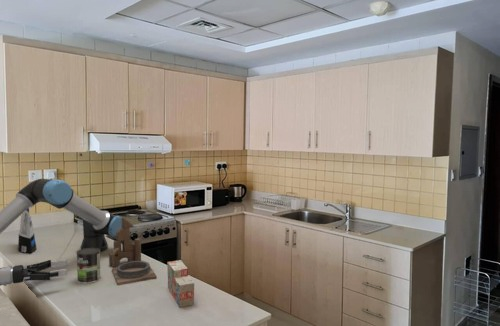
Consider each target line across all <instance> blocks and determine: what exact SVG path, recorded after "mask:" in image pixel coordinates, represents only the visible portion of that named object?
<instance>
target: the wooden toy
mask: <svg viewBox="0 0 500 326" xmlns="http://www.w3.org/2000/svg"><path fill="white" fill-rule="evenodd" d="M121 218H122V228H119V229H118V230H117V231H116V236H115V239H116V240H113V250H112V252H110V253H108V264H109V265H108V266H110V267H111V268H112V269H113V268H117V267H118V266H119V265H120V264H121V260H123V259H127V262H131V261H142V240H141V239H142V238H139V237H137V238H134V243H133V242H131V236H130V235H131V231H130V229H131V228H134V227H135V225H133V223H131V222H129V221H128V220H127V219H126V218H125V217H124V216H123V217H122V216H121Z"/></svg>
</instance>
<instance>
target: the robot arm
mask: <svg viewBox="0 0 500 326" xmlns="http://www.w3.org/2000/svg"><path fill="white" fill-rule="evenodd" d="M74 192H75V191H74V190H73V189H72V186H71V185H70V184H69V183H68V182H66V181H64V180H62V179H61V180H60V179H49V178H37V179H35V180H33V181H30V182H29V183H27V184H26V185H25V186H24V187H22V188H21V189H20V190H19V191H18V192H17V193H16V194H15V197H14V198H13V199H12V200H11V201H10V202H9V203H8V204H6V205H5V207H4V208H2V209H1V210H0V235H1V234H2V233H3V232H4V231H5V230H6V229H7V228H8V227H9V226H10V225H11V224H13V223H14V222H15V220H17V219H18V218H19V217H21V216H22V213H23V212H24V211H25V210H26V209H27V208H29V209H30V208H33V207H34V206H35V205H36V204H38V203H45V204H49V205H51V206H53V207H54V208H56V209H59V210H61V209H65V210H66V211H68V212H69V213H71V214H74V215H75V216H77V217H78V218H81V219H82V231H83V232H82V233H83V239H82V242H81V245H80V250H81V249H85V248H99V249H100V253H101V252H104V251H106V250H107V249H109V244H108V241H107V238H106V236H109V237H116V231H117V230H118V229H119V228H122V216H119V215H115V214H112V213H111V212H109V210H101V209H99V208H98V207H96V206H94V205H93V204H91V203H90V202H88V201H87V200H85V199H83V198H81V197H80V196H78V195H76V194H75V193H74ZM66 266H67V259H61V260H55V261H52V259H47V260H45V261H42V262H38V263H33V264H30V265H26V267H25V268H24V265H23V264H20V265H14V266H5V267H4V266H3V267H0V286H4V287H6V286H8V285H12V283H13V284H20V283H23V282H24V281H25V282H28V281H51V278H59V277H64V276H68V269H67V268H63V269H57V270H55V269H54V270H50V272H49V271H43V270H46V269H49V268H60V267H66Z"/></svg>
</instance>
